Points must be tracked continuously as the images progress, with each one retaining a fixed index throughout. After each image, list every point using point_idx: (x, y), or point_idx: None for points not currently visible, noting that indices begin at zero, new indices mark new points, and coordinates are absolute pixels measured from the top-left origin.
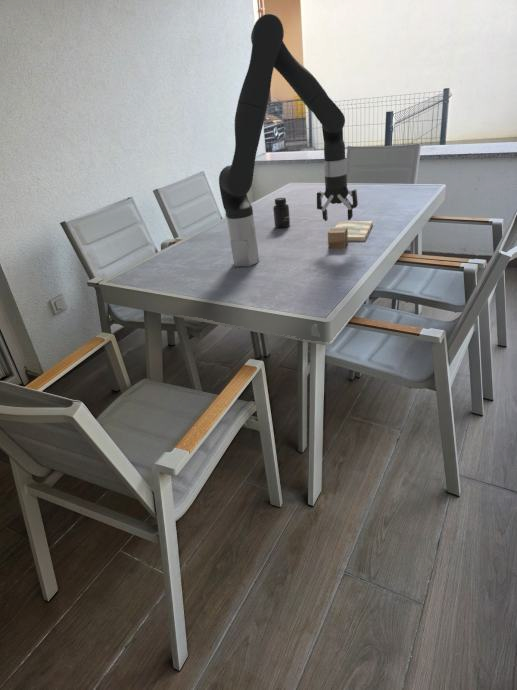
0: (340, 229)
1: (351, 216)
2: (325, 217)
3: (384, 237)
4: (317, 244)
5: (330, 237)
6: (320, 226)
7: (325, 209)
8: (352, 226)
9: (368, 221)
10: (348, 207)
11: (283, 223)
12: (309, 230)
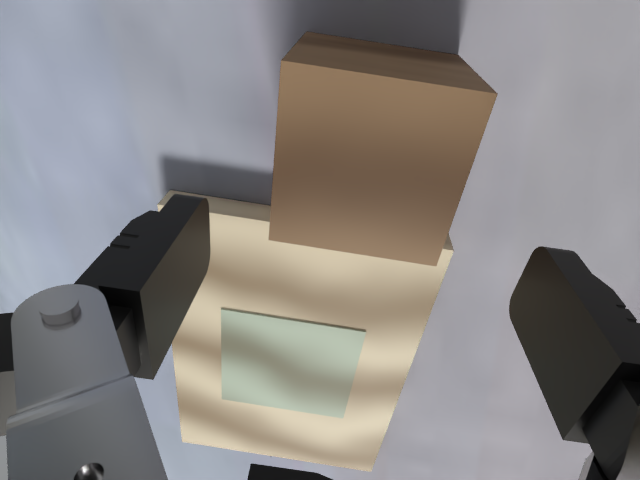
0: (337, 187)
1: (134, 227)
2: (574, 277)
3: (55, 233)
4: (545, 173)
5: (453, 73)
6: (474, 460)
7: (633, 406)
8: (282, 397)
9: (203, 441)
10: (83, 329)
11: None
12: (550, 426)
